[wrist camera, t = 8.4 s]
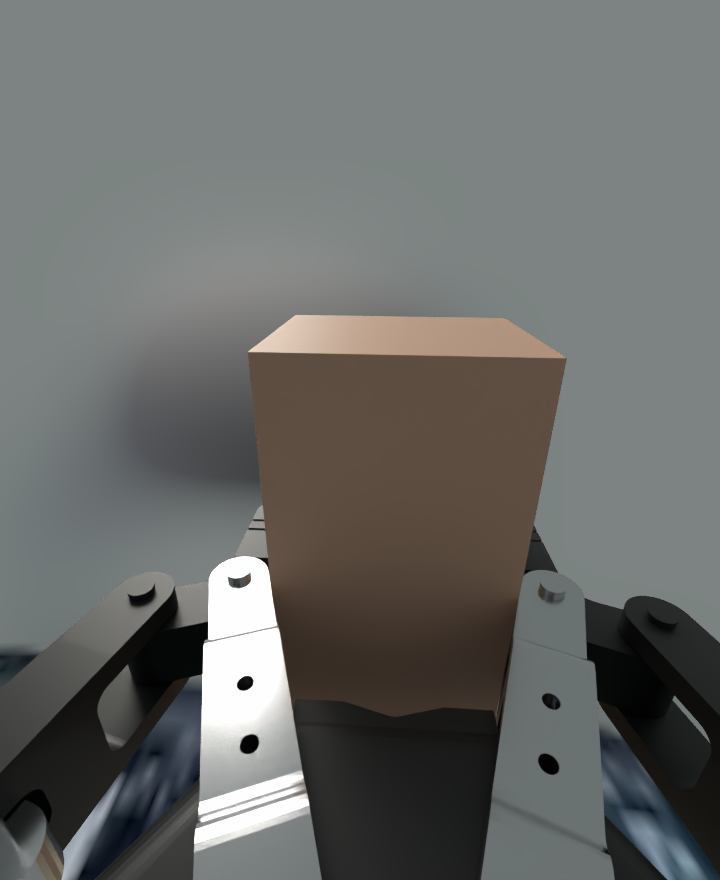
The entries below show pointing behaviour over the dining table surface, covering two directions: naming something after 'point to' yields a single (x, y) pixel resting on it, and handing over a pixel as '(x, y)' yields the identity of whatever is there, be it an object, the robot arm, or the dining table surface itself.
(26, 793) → the robot arm
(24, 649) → the dining table surface
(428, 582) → the tall tan block
